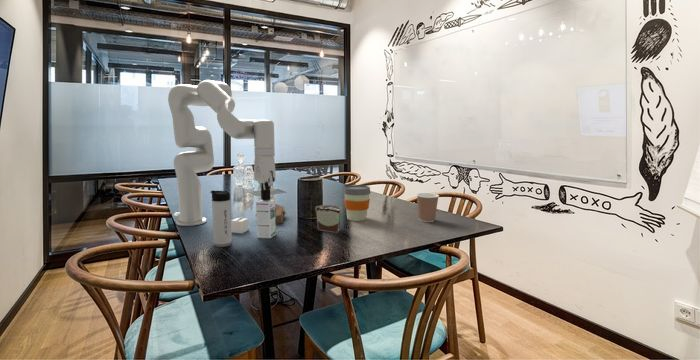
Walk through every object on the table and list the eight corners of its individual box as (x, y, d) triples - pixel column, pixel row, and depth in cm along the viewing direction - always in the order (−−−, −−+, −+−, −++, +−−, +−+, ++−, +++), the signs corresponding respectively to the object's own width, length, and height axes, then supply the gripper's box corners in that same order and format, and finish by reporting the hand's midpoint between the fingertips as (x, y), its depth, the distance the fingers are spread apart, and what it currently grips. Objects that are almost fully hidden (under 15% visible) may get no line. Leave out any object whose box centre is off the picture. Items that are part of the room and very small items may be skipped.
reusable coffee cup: (370, 221, 173) (371, 189, 171) (343, 221, 173) (343, 189, 171) (369, 215, 186) (369, 185, 184) (343, 215, 186) (344, 184, 184)
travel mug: (215, 242, 142) (213, 189, 139) (233, 241, 143) (231, 189, 140) (210, 247, 136) (208, 192, 133) (229, 247, 136) (227, 192, 133)
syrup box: (270, 238, 147) (270, 201, 145) (256, 237, 148) (255, 201, 146) (276, 234, 152) (275, 199, 150) (262, 233, 153) (261, 198, 151)
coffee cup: (441, 219, 179) (442, 194, 177) (433, 224, 170) (434, 197, 168) (420, 216, 184) (421, 192, 182) (412, 220, 176) (412, 195, 174)
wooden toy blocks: (255, 231, 168) (260, 216, 185) (285, 227, 169) (287, 212, 186) (252, 216, 165) (257, 202, 182) (282, 212, 166) (284, 198, 183)
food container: (347, 229, 160) (347, 206, 159) (341, 233, 155) (341, 209, 153) (322, 226, 166) (322, 203, 164) (314, 229, 160) (314, 206, 159)
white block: (231, 232, 155) (230, 220, 154) (238, 229, 160) (237, 217, 159) (242, 233, 154) (241, 221, 153) (248, 230, 159) (248, 218, 158)
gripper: (247, 151, 149) (248, 197, 151) (264, 154, 137) (265, 203, 140) (265, 151, 153) (266, 195, 156) (282, 153, 142) (283, 201, 144)
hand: (265, 199), depth 148 cm, fingers closed
